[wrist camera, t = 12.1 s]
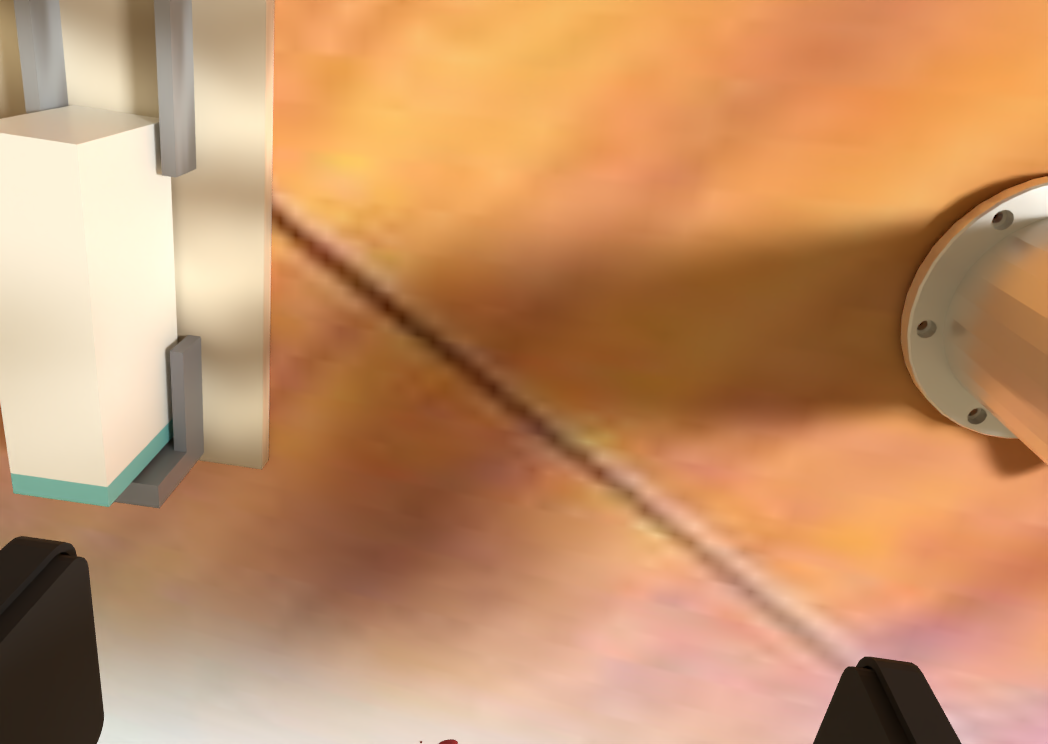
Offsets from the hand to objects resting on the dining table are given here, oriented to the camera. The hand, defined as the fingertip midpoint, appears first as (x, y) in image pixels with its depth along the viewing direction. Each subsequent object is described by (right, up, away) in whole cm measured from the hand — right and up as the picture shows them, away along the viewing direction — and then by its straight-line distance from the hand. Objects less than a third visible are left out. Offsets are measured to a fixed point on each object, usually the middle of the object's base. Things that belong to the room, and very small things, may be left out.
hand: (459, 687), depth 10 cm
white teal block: (-17, +8, +27) cm, 33 cm away
